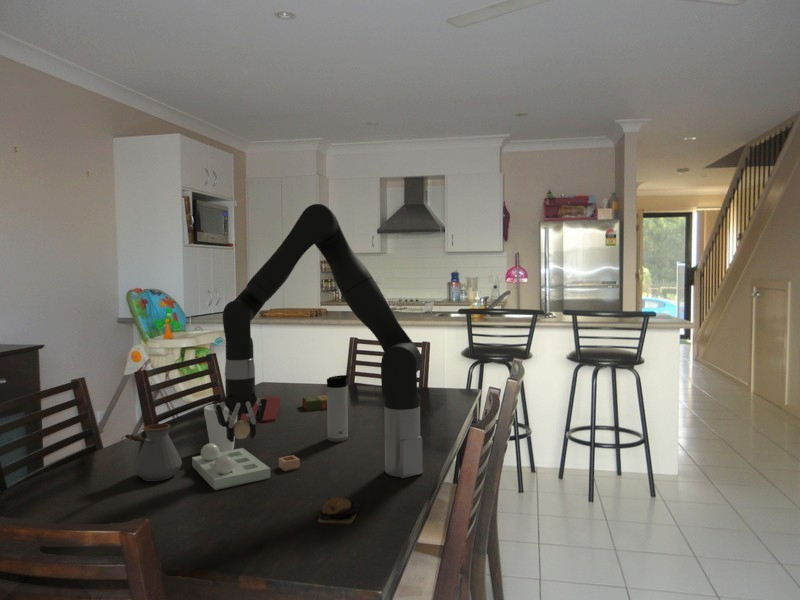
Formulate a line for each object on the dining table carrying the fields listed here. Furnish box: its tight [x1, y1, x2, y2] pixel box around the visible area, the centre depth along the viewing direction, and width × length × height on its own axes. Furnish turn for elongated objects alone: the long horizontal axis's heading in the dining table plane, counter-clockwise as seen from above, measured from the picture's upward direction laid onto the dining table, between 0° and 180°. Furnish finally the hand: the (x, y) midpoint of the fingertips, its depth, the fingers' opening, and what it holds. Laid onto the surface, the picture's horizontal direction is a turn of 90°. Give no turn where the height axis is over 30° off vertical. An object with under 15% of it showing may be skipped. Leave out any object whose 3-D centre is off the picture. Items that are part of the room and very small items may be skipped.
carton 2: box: [239, 396, 281, 424], centre depth 216 cm, size 12×5×25 cm
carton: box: [301, 394, 349, 412], centre depth 226 cm, size 8×16×4 cm, turn 109°
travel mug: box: [326, 374, 349, 443], centre depth 182 cm, size 6×7×20 cm
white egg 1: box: [200, 442, 220, 461], centre depth 157 cm, size 5×5×5 cm
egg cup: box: [278, 454, 301, 472], centre depth 156 cm, size 4×4×2 cm
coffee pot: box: [120, 423, 183, 482], centre depth 146 cm, size 21×12×15 cm, turn 177°
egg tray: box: [191, 447, 271, 491], centre depth 153 cm, size 21×14×2 cm, turn 34°
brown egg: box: [233, 419, 250, 440], centre depth 155 cm, size 5×5×5 cm
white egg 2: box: [214, 455, 234, 475], centre depth 146 cm, size 5×5×5 cm
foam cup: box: [203, 402, 238, 452], centre depth 172 cm, size 10×9×13 cm
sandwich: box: [317, 496, 360, 524], centre depth 127 cm, size 11×8×4 cm
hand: (241, 439), depth 155 cm, fingers closed on brown egg, 4 cm apart
